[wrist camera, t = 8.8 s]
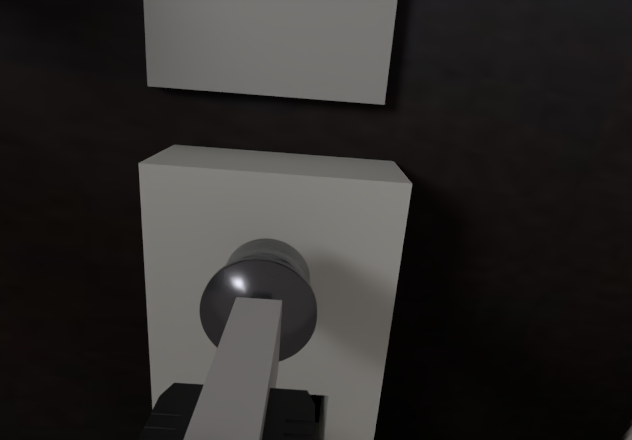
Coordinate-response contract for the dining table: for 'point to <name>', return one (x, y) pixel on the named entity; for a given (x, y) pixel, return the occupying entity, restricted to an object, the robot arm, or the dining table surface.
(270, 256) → the plunger
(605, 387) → the dining table surface
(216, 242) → the housing
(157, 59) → the mat
